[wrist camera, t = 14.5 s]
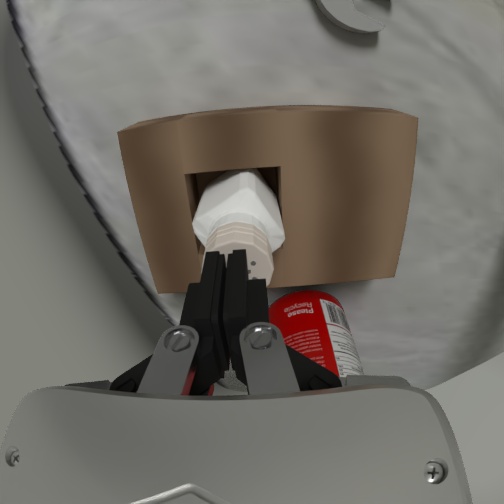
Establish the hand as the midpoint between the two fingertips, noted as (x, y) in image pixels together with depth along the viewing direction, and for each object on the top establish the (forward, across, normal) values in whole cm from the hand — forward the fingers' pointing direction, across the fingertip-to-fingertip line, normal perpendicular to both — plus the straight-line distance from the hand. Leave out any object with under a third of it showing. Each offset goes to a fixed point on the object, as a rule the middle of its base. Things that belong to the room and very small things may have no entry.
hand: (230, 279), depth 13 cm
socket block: (+10, -3, 0) cm, 11 cm away
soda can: (+11, -5, +13) cm, 18 cm away
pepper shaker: (+10, 0, 0) cm, 10 cm away
